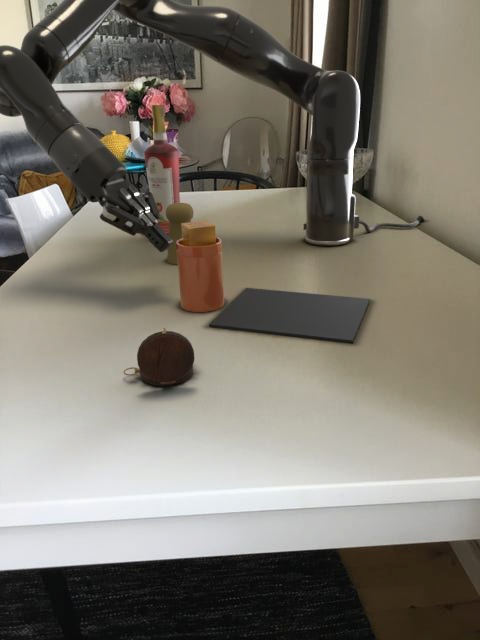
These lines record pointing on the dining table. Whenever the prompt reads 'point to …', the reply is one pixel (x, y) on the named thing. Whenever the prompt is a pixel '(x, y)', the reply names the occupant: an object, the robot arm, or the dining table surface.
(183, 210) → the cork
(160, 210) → the liquor
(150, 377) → the dark brown dome
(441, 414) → the dining table surface
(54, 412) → the dining table surface
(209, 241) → the block
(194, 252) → the tumbler
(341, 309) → the mat
